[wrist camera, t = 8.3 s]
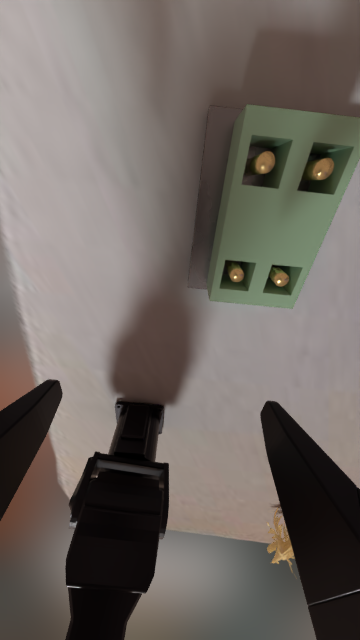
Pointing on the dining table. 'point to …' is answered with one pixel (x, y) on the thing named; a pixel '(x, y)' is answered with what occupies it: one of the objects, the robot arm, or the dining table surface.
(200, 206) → the grey peg plate
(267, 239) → the green block with holes
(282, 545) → the straw tuft
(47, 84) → the dining table surface
